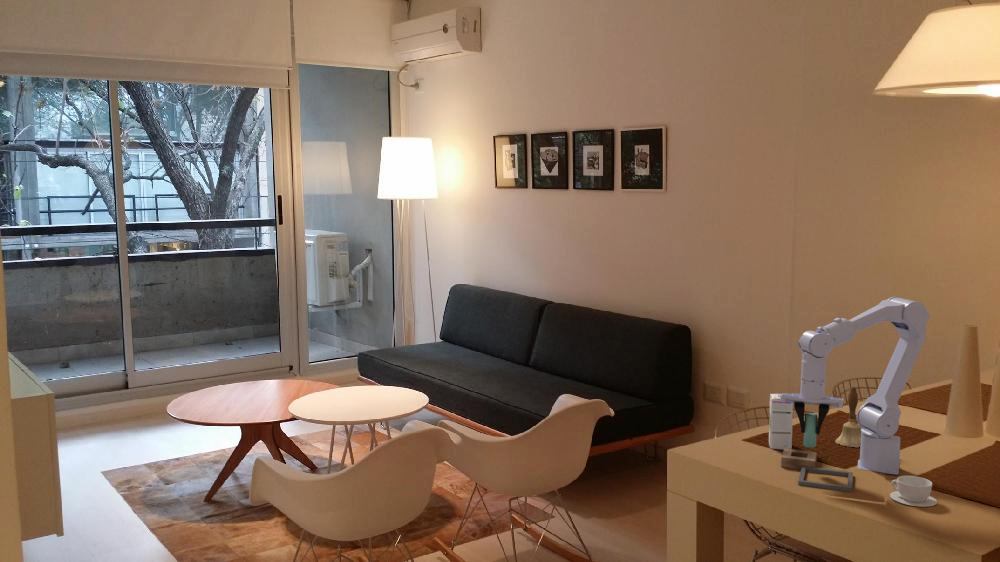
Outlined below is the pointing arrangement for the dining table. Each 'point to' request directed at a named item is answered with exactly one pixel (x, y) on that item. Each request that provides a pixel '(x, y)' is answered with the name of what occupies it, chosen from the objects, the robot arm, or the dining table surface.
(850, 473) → the tray
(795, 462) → the block
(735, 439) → the dining table surface
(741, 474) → the dining table surface
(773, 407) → the syrup box
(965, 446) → the dining table surface
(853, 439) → the hand bell
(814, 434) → the dowel
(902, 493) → the teacup
